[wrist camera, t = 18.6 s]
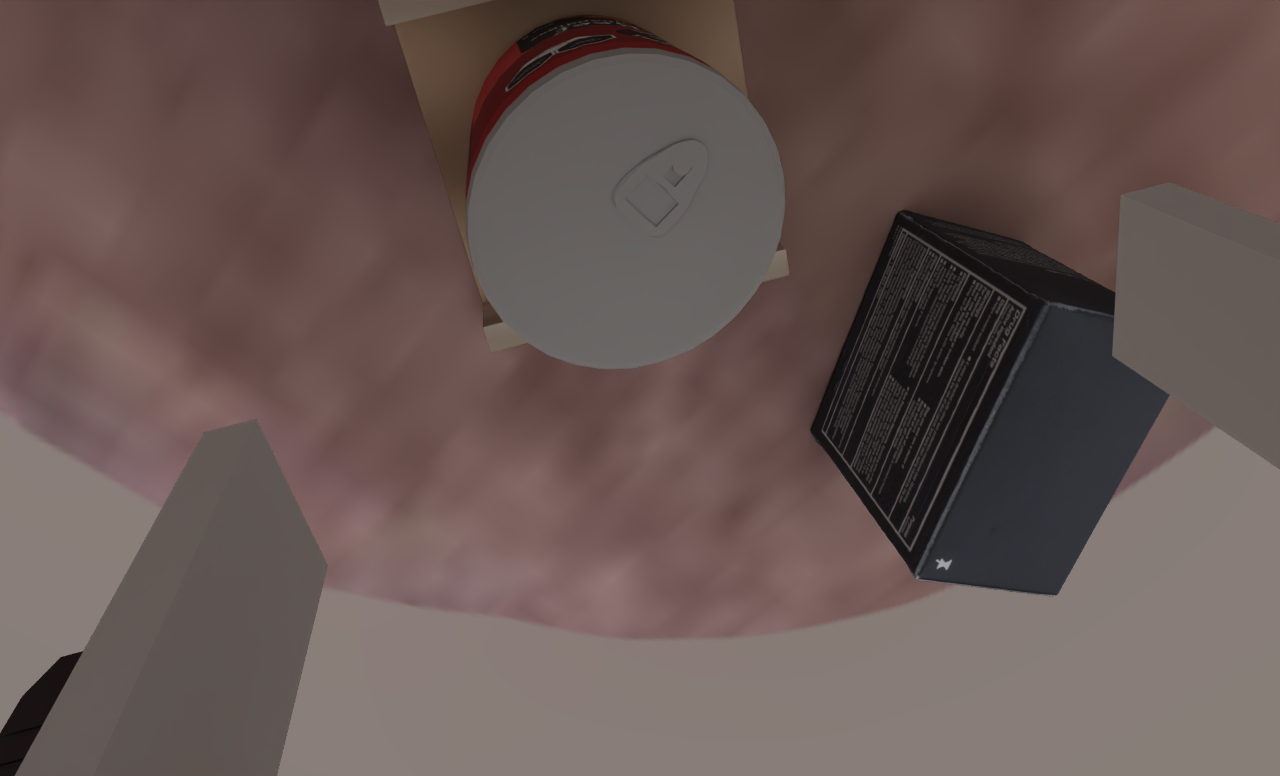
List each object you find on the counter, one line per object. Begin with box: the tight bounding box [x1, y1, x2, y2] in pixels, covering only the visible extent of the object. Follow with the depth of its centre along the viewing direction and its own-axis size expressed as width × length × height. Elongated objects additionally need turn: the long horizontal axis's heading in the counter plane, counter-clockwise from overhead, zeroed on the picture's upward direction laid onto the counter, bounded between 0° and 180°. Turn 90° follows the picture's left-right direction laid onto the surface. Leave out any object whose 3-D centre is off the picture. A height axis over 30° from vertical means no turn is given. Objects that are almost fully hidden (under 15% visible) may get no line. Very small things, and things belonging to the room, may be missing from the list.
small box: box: [811, 211, 1169, 597], centre depth 34 cm, size 11×6×10 cm, turn 164°
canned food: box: [466, 15, 785, 369], centre depth 26 cm, size 8×8×11 cm
